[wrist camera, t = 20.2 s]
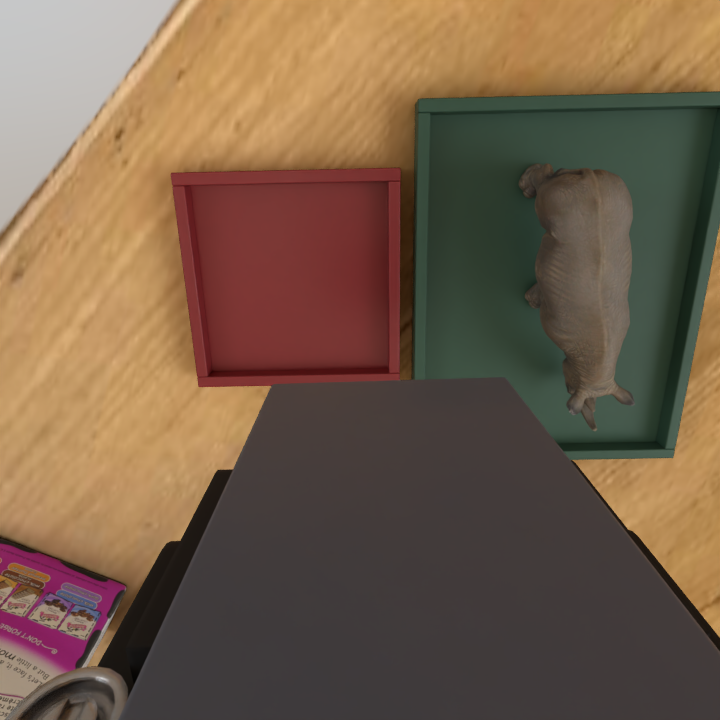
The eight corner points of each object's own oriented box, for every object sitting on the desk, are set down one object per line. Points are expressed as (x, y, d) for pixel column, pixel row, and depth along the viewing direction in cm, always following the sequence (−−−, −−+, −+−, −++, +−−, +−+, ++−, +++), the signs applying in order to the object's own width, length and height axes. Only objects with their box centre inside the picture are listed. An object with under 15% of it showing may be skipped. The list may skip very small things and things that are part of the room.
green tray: (414, 103, 25) (418, 98, 23) (724, 96, 25) (747, 90, 23) (410, 450, 31) (413, 462, 29) (659, 446, 31) (673, 458, 29)
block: (271, 382, 11) (57, 839, 3) (505, 375, 11) (861, 822, 3) (289, 573, 12) (175, 1183, 5) (493, 567, 12) (709, 1175, 5)
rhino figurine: (531, 414, 30) (572, 467, 24) (505, 170, 25) (548, 163, 20) (602, 401, 29) (660, 452, 24) (588, 152, 25) (655, 140, 19)
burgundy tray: (180, 173, 26) (170, 172, 24) (398, 169, 26) (400, 167, 24) (206, 377, 29) (198, 387, 28) (397, 374, 29) (399, 383, 28)
